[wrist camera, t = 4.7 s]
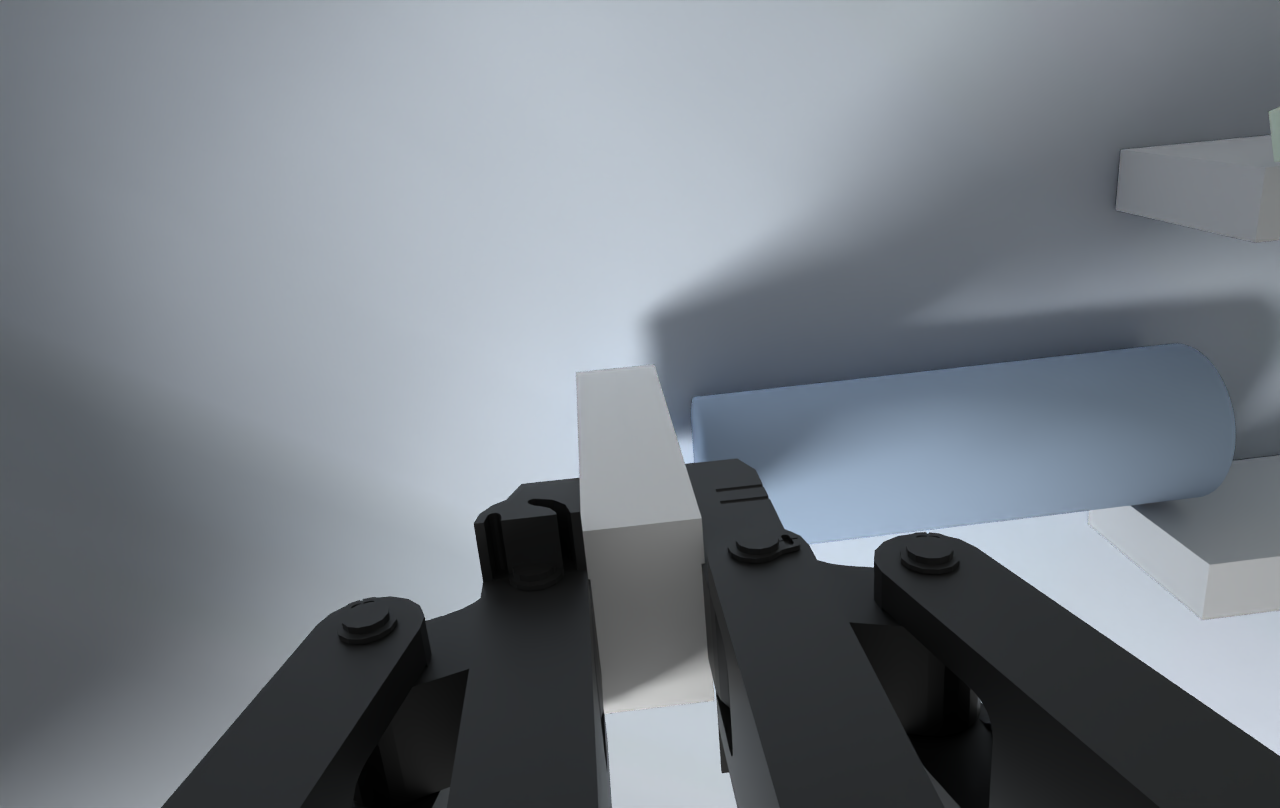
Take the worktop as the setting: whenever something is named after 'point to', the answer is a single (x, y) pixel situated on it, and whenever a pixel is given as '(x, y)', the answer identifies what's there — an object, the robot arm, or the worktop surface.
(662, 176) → the worktop surface
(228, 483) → the worktop surface
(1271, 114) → the cover
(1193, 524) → the white u-shaped channel
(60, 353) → the worktop surface
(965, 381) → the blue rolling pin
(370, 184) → the worktop surface
